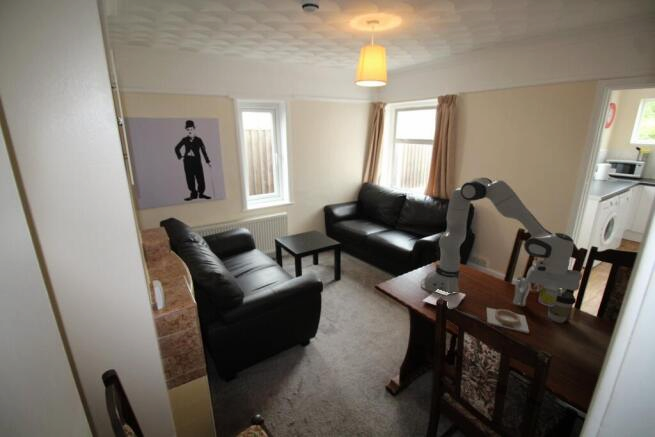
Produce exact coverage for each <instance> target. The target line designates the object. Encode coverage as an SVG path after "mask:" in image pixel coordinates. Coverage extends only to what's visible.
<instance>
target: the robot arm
mask: <svg viewBox="0 0 655 437" xmlns="http://www.w3.org/2000/svg"><path fill="white" fill-rule="evenodd" d="M484 198H485V199H488V200H490V202H491V203H492V204H493V206H494V207H495V209H496V210H497V211H498V213H500V215H502V217H505V218H509V219H514V220H517V221H518V222H520V223H521V225H522V226H523V227H524V228H525V229H526V231H527V232H528V233H529V234H530V237H529V238H528V239H526V241H525V242H524V245H523V247H524V251H525V252H526V254H528V255H529V256H532V257H535V258H542V259H543V260H533V261H532V266H530V267H529V269H528V271H527V273H526V277H525V278H527V280H528V282H531V283H532V284H535V285H536V287H537V288H536V292H538V293H540V292H541V291H542V289H541V288H542V287H540V286H542V285H549V281H555V282H557V284H556V285H555V286H556V287H558V288H559V289H561V290H560V291H558V295H557V296H562V293H564V292H565V291H567V290H569V291H575V292H576V291H578V290H579V289H580V284H581V280H582V278H583V273H582V272H580V271H579V270H574V269H573V270H572V269H569V266H570V259H571V257H572V254H573V253H574V252H573V250H574V244H575V243H574V240H573V238H572V237H570V236H569V235H567V234H565V233H560V232H554V233H552V232H550V231H549V230H548V229H546V228H545V227H543V225H542V224H541V223H540V222H539V221H538V220H537V218H536V217H535V216H534V215H533V214H532V212H531V211H530V210H529V209H528V208H527V206H526V205H525V204H524V202H522V200H521V199H520V198H519V196H518V195H517V193H516V192H515V191H514V189H512V187H511V186H510V185H509V184H508V183H507V182H505V181H504V180H501V179H499V180H498V179H497V180H495V181H492V180H491V179H490V178H487V177H479V178H478V177H477V178H473V179H472V180H469V181H466V182H465V183H463V184H462V186H461V187H457V188H455V189H453V190H452V192H451V196H450V198H449V202H448V207H447V211H446V217H445V219H446V229H445V231H444V233H442V234H441V236H440V238H439V240H438V245H439V249H440V250H439V251H440V259H439V263H436V264H435V270H433V271H430V272H429V273H427V274H426V276H425V277H424V278H423V279H421V282H420V287H421V288H422V289H423V290H426V291H430V292H433V293H435V292H434V291H436V290H437V289H439V290H442V291H445V292H448V293H453V292H458V293H459V291H460V289H459V278H460V265H461V264H460V262H461V255H460V247H461V245H462V244H463V243H464V242H465V240H466V237H467V222H468V216H469V212H470V206H471V203H472V201H479V200H481V199H484Z"/></svg>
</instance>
